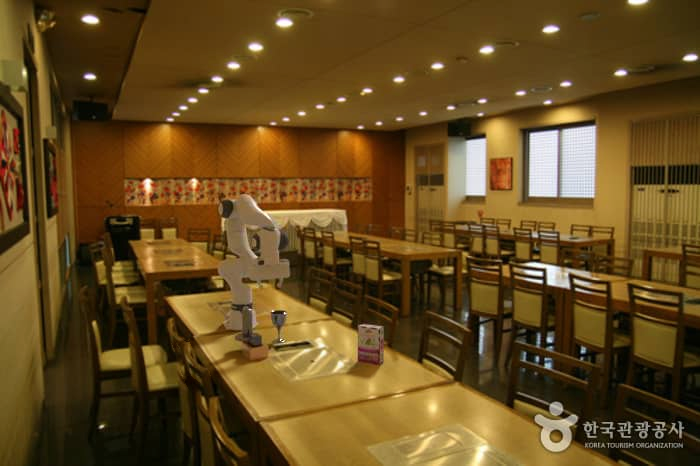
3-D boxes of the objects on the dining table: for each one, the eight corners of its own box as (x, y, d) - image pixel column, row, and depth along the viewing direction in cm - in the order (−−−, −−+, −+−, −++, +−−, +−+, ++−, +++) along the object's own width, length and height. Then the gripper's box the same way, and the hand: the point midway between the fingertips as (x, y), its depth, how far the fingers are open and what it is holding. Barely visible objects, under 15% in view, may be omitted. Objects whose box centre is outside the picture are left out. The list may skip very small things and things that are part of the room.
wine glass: (288, 338, 277) (288, 310, 275) (284, 343, 269) (284, 314, 267) (273, 338, 277) (272, 310, 276) (269, 342, 270) (269, 313, 268)
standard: (231, 348, 260) (230, 308, 258) (254, 344, 266) (254, 305, 264) (247, 361, 242) (246, 317, 240) (271, 356, 248) (271, 314, 246)
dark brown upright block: (249, 354, 251) (248, 333, 250) (257, 353, 253) (256, 332, 252) (253, 358, 246) (253, 337, 245) (261, 356, 248) (261, 335, 247)
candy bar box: (384, 361, 242) (384, 326, 241) (379, 364, 238) (379, 328, 236) (362, 357, 247) (362, 323, 246) (357, 361, 243) (357, 325, 241)
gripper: (286, 257, 268) (286, 284, 270) (247, 260, 258) (248, 289, 259) (292, 259, 263) (292, 287, 264) (252, 262, 252) (253, 291, 254)
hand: (270, 288), depth 262 cm, fingers open, 8 cm apart
